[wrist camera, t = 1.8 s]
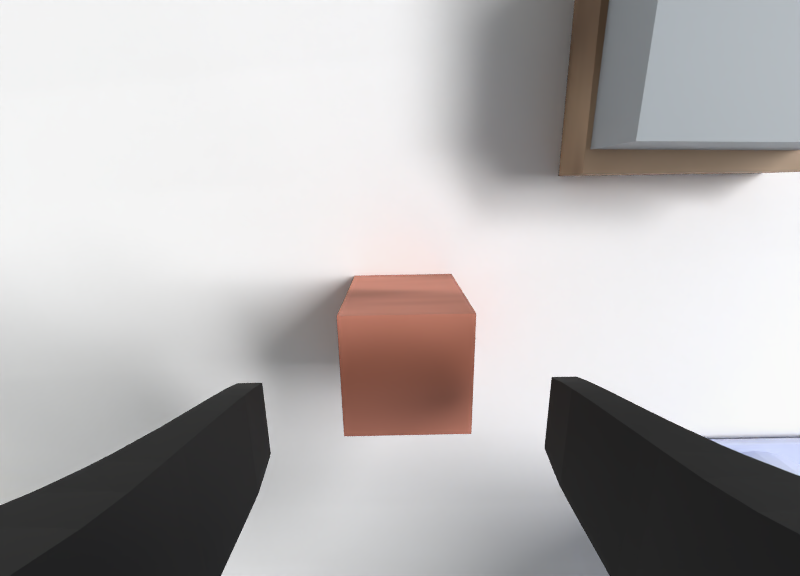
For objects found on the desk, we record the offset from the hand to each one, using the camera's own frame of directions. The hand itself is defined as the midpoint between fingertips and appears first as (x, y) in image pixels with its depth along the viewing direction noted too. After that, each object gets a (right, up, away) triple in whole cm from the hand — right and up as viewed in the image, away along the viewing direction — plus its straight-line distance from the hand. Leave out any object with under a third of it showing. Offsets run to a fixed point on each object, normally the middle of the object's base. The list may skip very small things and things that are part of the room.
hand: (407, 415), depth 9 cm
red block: (0, +2, +7) cm, 7 cm away
